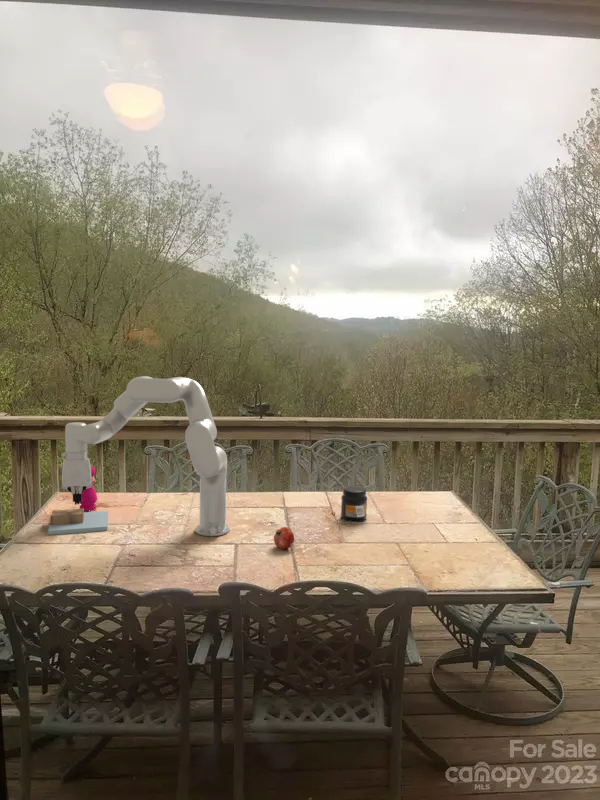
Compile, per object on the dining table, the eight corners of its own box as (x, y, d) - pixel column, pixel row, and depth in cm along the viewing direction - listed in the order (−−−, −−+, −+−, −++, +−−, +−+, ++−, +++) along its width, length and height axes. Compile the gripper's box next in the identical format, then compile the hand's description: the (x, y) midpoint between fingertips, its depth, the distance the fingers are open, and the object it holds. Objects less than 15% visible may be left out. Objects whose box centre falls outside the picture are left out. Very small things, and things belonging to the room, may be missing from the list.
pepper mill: (90, 505, 231) (90, 459, 229) (100, 509, 227) (100, 461, 225) (74, 509, 225) (74, 461, 223) (85, 513, 221) (84, 464, 219)
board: (107, 530, 201) (107, 526, 201) (47, 535, 195) (47, 531, 195) (108, 514, 220) (108, 510, 220) (53, 518, 214) (53, 514, 214)
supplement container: (363, 523, 217) (364, 493, 216) (337, 519, 220) (338, 490, 219) (368, 515, 227) (370, 487, 226) (344, 512, 230) (345, 484, 229)
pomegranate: (282, 549, 193) (263, 536, 188) (294, 531, 194) (276, 518, 189) (293, 558, 187) (274, 545, 182) (305, 540, 188) (287, 527, 183)
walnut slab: (82, 513, 204) (50, 515, 201) (82, 522, 204) (50, 525, 201) (83, 508, 211) (52, 510, 207) (83, 517, 211) (52, 519, 208)
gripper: (53, 458, 199) (54, 507, 201) (97, 456, 204) (98, 505, 205) (55, 454, 206) (56, 502, 208) (98, 452, 211) (98, 499, 212)
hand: (77, 503), depth 206 cm, fingers closed
